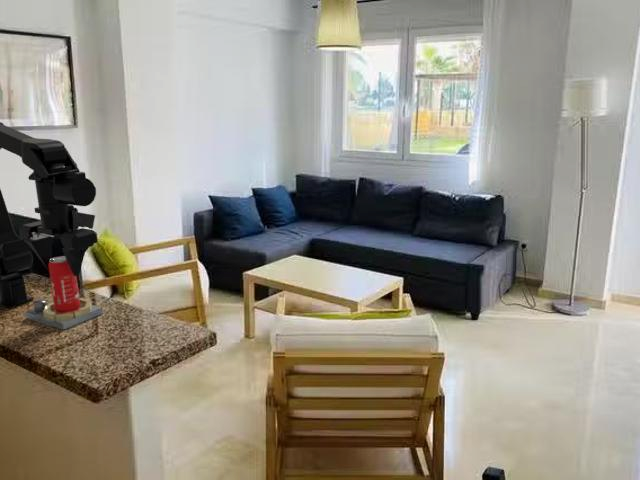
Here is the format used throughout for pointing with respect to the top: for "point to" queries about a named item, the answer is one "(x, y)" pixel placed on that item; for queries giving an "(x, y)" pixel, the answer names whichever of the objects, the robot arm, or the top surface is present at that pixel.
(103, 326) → the top surface
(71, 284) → the beverage can
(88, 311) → the grey plate with ring
